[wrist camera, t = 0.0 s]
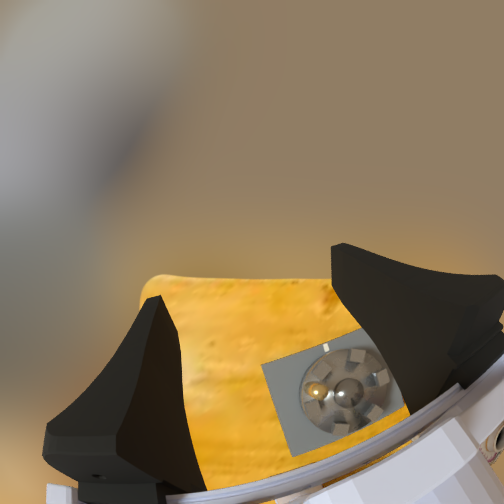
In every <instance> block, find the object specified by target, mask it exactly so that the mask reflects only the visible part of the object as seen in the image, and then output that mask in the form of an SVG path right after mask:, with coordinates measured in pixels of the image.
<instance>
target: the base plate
mask: <svg viewBox="0 0 504 504" xmlns="http://www.w3.org/2000/svg"><path fill="white" fill-rule="evenodd" d="M341 349H359V350H366V352H367V353H368V354H370V355H372V356H373V357H374V358H375V359H376V360H377V361H378V362H379V363H380V365H381V367H382V368H386V369H387V373H388V376H389V380H390V382H388V383H386V384H387V388H386V396H385V400H384V402H383V405H382V407H381V409H382V410H383V412H382V414H381V415H380V416H379V418H378V419H377V420H376V421H378V420H380V419H382V418H384V417H386V416H388V415H389V414H391V413H393V412H395V411H396V410H398V409H400V408H402V407H403V406H404V402H403V398H402V395H401V391H400V389H399V387H398V385H397V383H396V381H395V379H394V377H393V375H392V373H391V371H390V369H389V367H388V366H387V364H386V362H385V360H384V358H383V357H382V355H381V353H380V352H379V350H378V349H377V347H376V345H375V344H374V342H373V341H372V340H371V338H370V337H369V336H368V334H367V333H366V332H365V331H364V329H363V328H360V329H358V330H355V331H353V332H350V333H348V334H346V335H343V336H341V337H338V338H336V339H333V340H331V341H328V342H325V343H323V344H320V345H317V346H315V347H312V348H309V349H307V350H304V351H301V352H298V353H295V354H292V355H289V356H286V357H283V358H280V359H277V360H274V361H271V362H268V363H265V364H262V365H261V367H262V370H263V373H264V376H265V379H266V382H267V385H268V388H269V391H270V394H271V397H272V400H273V403H274V406H275V409H276V412H277V415H278V418H279V421H280V424H281V427H282V429H283V432H284V435H285V438H286V441H287V444H288V447H289V450H290V452H291V455H292V457H294V456H297V455H300V454H303V453H306V452H309V451H311V450H314V449H317V448H319V447H322V446H324V445H327V444H329V443H332V442H334V441H336V440H339V439H341V438H343V437H345V436H335V435H331V434H330V433H327V432H325V431H322V430H321V429H319V428H317V427H316V426H315V425H314V424H313V423H312V422H311V421H310V420H308V418H307V417H306V416H305V415H304V413H303V411H302V409H301V406H300V402H299V387H300V383H301V379H302V377H303V375H304V373H305V371H306V370H307V368H308V367H309V366H310V365H311V364H312V363H313V362H314V361H315V360H316V359H317V358H319V357H320V356H322V355H323V354H326V353H328V352H331V351H334V350H341ZM376 421H375V422H376ZM373 423H374V422H372V421H371V422H370V423H368V424H367V425H366V426H364V427H363V428H365V427H367V426H369V425H371V424H373ZM363 428H361V429H363ZM361 429H359V430H361ZM357 431H358V430H357ZM355 432H356V431H355ZM352 433H354V432H352ZM352 433H348V434H347V436H348V435H350V434H352Z"/></svg>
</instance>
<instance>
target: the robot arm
mask: <svg viewBox="0 0 504 504" xmlns="http://www.w3.org/2000/svg"><path fill="white" fill-rule="evenodd" d="M331 270H332V287H333V288H334V290H335V292H336V294H337V295H338V297H339V299H340V300H341V302H342V303H343V305H344V306H345V307H346V308H347V310H348V311H349V312H350V313H351V315H352V316H353V317H354V318H355V319H356V321H357V322H358V323H359V324H360V326H361V327H362V328H363V329H364V331H365V332H366V333H367V334H368V336H369V337H370V338H371V340H372V341H373V342H374V344H375V345H376V347H377V349H378V350H379V352H380V353H381V355H382V357H383V358H384V360H385V362H386V364H387V366H388V367H389V369H390V371H391V373H392V375H393V377H394V379H395V381H396V383H397V385H398V387H399V389H400V391H401V393H402V396H403V398H404V400H405V403H406V405H407V408H408V410H409V413H410V416H409V417H408V418H406V419H404V420H403V421H401V422H399V423H398V424H396V425H394V426H392V427H391V428H389V429H387V430H385V431H383V432H382V433H380V434H378V435H376V436H374V437H372V438H370V439H368V440H366V441H364V442H362V443H360V444H358V445H356V446H354V447H352V448H349V449H347V450H345V451H343V452H340V453H338V454H336V455H333V456H331V457H329V458H326V459H324V460H321V461H318V462H316V463H311V464H309V465H306V466H303V467H300V468H297V469H294V470H291V471H288V472H285V473H282V474H278V475H275V476H271V477H268V478H267V479H263V480H259V481H255V482H251V483H247V484H242V485H238V486H233V487H228V488H222V489H217V490H210V491H207V488H206V486H205V483H204V480H203V477H202V474H201V471H200V468H199V465H198V462H197V458H196V455H195V451H194V448H193V444H192V440H191V436H190V432H189V428H188V423H187V418H186V413H185V408H184V400H183V385H182V364H181V350H180V343H179V337H178V331H177V329H176V327H175V325H174V323H173V321H172V319H171V317H170V314H169V312H168V310H167V308H166V306H165V303H164V301H163V299H162V297H161V295H159V296H155V297H151V298H148V299H146V301H145V303H144V304H143V306H142V308H141V310H140V312H139V314H138V315H137V317H136V319H135V321H134V323H133V324H132V326H131V328H130V330H129V332H128V333H127V335H126V337H125V338H124V340H123V341H122V343H121V345H120V346H119V348H118V349H117V351H116V353H115V354H114V356H113V357H112V358H111V360H110V361H109V362H108V364H107V365H106V366H105V368H104V369H103V370H102V372H101V373H100V374H99V375H98V376H97V378H96V379H95V380H94V381H93V382H92V383H91V385H90V386H89V387H88V388H87V389H86V390H85V391H84V392H83V393H82V394H81V395H80V396H79V397H78V398H77V399H76V400H75V401H74V402H73V403H72V404H71V405H70V406H68V407H67V408H66V409H65V410H64V411H63V412H61V413H60V414H59V415H57V416H56V417H55V418H54V419H52V420H51V421H50V422H48V423H47V426H46V432H45V438H44V446H43V453H42V456H43V458H44V460H45V461H46V462H47V463H48V464H49V465H51V466H52V467H53V468H55V469H56V470H58V471H60V472H61V473H63V474H65V475H67V476H69V477H70V478H72V479H74V480H76V481H78V489H77V488H74V487H70V486H64V485H58V484H52V483H48V484H47V498H46V504H259V503H263V502H267V501H271V500H275V502H276V504H504V486H503V485H502V483H501V482H500V480H499V478H498V477H497V475H496V474H495V472H494V471H493V469H492V468H491V466H490V465H489V463H488V462H487V460H486V459H485V457H484V456H483V454H482V453H481V451H480V450H479V448H480V444H481V443H482V442H483V441H484V440H485V439H486V438H487V437H488V436H489V435H490V434H491V433H492V432H493V431H494V430H495V429H496V428H497V427H498V425H499V424H500V423H501V422H502V421H503V420H504V333H503V332H502V331H501V330H502V329H503V325H502V324H501V323H500V322H499V319H500V317H501V315H502V313H503V310H504V280H503V279H502V278H500V277H499V276H497V275H463V274H451V273H444V272H438V271H432V270H427V269H423V268H419V267H415V266H411V265H407V264H404V263H401V262H398V261H395V260H392V259H389V258H386V257H383V256H380V255H377V254H375V253H372V252H369V251H366V250H364V249H361V248H358V247H355V246H353V245H349V244H346V243H341V244H338V245H335V246H331ZM420 433H421V434H420ZM419 434H420V436H419V438H418V439H417V440H415V441H414V442H412V443H411V444H409V445H407V446H406V447H404V448H403V449H401V450H399V451H397V452H396V453H394V454H392V455H391V456H389V457H387V458H385V459H383V460H382V461H380V462H378V463H376V464H374V465H372V466H370V467H368V468H366V469H364V470H362V471H360V472H358V473H356V474H354V475H351V476H349V477H347V478H345V479H343V480H341V481H339V482H336V483H334V484H332V485H330V486H327V487H325V488H323V486H322V484H323V483H326V482H328V481H331V480H333V479H336V478H338V477H340V476H343V475H345V474H347V473H350V472H352V471H354V470H356V469H358V468H360V467H362V466H364V465H366V464H368V463H370V462H372V461H374V460H376V459H378V458H380V457H382V456H384V455H385V454H387V453H389V452H391V451H393V450H394V449H396V448H398V447H399V446H401V445H403V444H404V443H406V442H408V441H409V440H411V439H412V438H414V437H415V436H417V435H419Z"/></svg>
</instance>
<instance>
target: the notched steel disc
mask: <svg viewBox="0 0 504 504" xmlns="http://www.w3.org/2000/svg"><path fill="white" fill-rule="evenodd" d="M388 382H390V380H389V376H388V373H387V369H386V368H382V367H381V365H380V363H379V362H378V361H377V360H376V359H375V358H374V357H373V356H372V355H370V354H368V353H367V352H366V350H359V349H341V350H334V351H331V352H328V353H326V354H323V355H322V356H320V357H319V358H317V359H316V360H315V361H314V362H313V363H312V364H311V365H310V366H309V367H308V368H307V370H306V371H305V373H304V375H303V377H302V379H301V383H300V387H299V402H300V406H301V409H302V411H303V413H304V415H305V416H306V417H307V418H308V420H310V421H311V422H312V423H313V424H314V425H315V426H316V427H317V428H319V429H321V430H322V431H325V432H327V433H330V434H331V435H335V436H347V434H348V433H352V432H355V431H357V430H359V429H361V428H363V427H364V426H366V425H367V424H368V423H370V422H371V421H372V422H374V423H375V421H376V420H377V419H378V418H379V416H380V415H381V414H382V412H383V410H382V409H381V407H382V405H383V402H384V400H385V396H386V388H387V384H386V383H388Z"/></svg>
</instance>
